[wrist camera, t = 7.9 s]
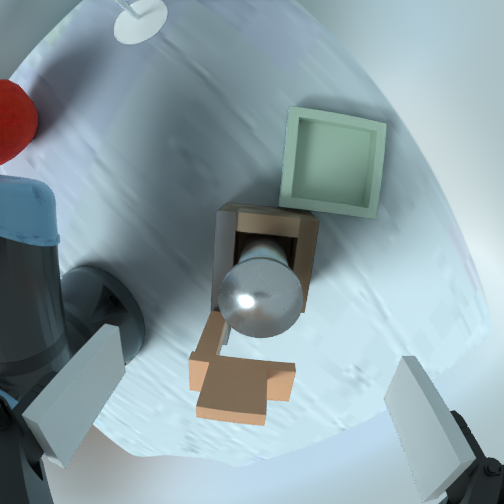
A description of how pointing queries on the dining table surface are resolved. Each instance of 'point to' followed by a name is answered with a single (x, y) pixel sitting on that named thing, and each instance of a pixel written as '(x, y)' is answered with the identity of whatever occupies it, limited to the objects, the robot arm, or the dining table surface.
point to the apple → (15, 120)
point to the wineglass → (139, 20)
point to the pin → (261, 289)
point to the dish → (332, 163)
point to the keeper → (234, 380)
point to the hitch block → (264, 222)
